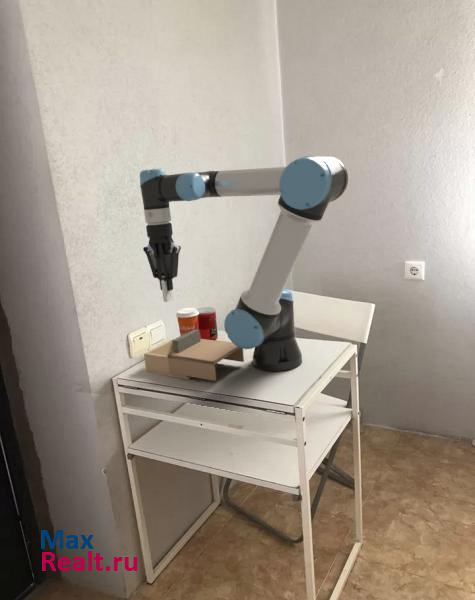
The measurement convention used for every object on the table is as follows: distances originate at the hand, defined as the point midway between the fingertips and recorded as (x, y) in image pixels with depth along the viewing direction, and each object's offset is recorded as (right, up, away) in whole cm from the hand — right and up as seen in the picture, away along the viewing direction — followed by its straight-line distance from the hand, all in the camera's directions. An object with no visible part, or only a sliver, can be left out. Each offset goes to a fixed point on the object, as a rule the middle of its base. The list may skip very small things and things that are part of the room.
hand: (168, 300), depth 157 cm
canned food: (+10, -14, +30) cm, 34 cm away
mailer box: (+3, -21, +4) cm, 22 cm away
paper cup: (+5, -17, +20) cm, 27 cm away
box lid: (+12, -20, -2) cm, 23 cm away
